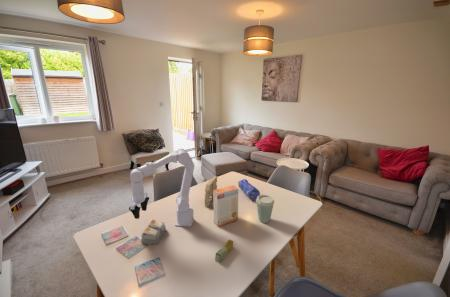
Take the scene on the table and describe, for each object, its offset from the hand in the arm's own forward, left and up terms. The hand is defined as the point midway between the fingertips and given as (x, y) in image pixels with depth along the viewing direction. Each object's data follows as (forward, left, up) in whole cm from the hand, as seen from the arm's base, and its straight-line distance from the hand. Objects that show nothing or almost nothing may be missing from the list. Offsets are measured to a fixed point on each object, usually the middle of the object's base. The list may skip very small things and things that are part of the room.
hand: (140, 214), depth 109 cm
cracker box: (-45, -14, -11) cm, 49 cm away
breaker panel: (-8, +4, -10) cm, 14 cm away
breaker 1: (-8, +1, -6) cm, 10 cm away
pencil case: (-59, -50, -11) cm, 78 cm away
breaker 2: (-8, +7, -6) cm, 12 cm away
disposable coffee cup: (-68, -17, -11) cm, 71 cm away
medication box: (-47, +12, -11) cm, 50 cm away
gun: (-32, -40, -11) cm, 52 cm away
